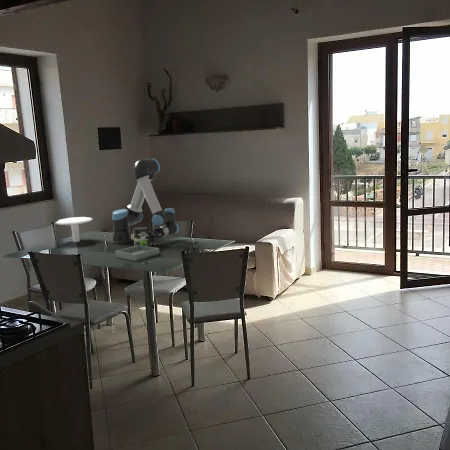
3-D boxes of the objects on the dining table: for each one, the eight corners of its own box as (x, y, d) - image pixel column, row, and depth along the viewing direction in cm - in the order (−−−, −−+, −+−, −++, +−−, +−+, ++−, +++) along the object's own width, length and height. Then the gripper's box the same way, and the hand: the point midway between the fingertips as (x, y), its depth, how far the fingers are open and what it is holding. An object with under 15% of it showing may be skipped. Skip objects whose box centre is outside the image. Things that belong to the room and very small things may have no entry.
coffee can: (151, 248, 333) (150, 228, 330) (137, 250, 328) (135, 230, 326) (146, 245, 342) (145, 226, 340) (132, 247, 337) (131, 227, 335)
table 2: (81, 246, 351) (78, 223, 348) (49, 244, 360) (46, 222, 357) (102, 237, 377) (100, 216, 374) (72, 237, 386) (69, 216, 383)
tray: (115, 257, 313) (115, 251, 312) (139, 250, 328) (139, 244, 327) (135, 261, 300) (134, 254, 299) (159, 254, 315) (159, 248, 314)
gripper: (171, 238, 340) (147, 245, 324) (150, 235, 355) (126, 241, 339) (171, 228, 339) (146, 234, 323) (150, 225, 354) (125, 230, 337)
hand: (136, 237), depth 331 cm, fingers closed on coffee can, 10 cm apart
